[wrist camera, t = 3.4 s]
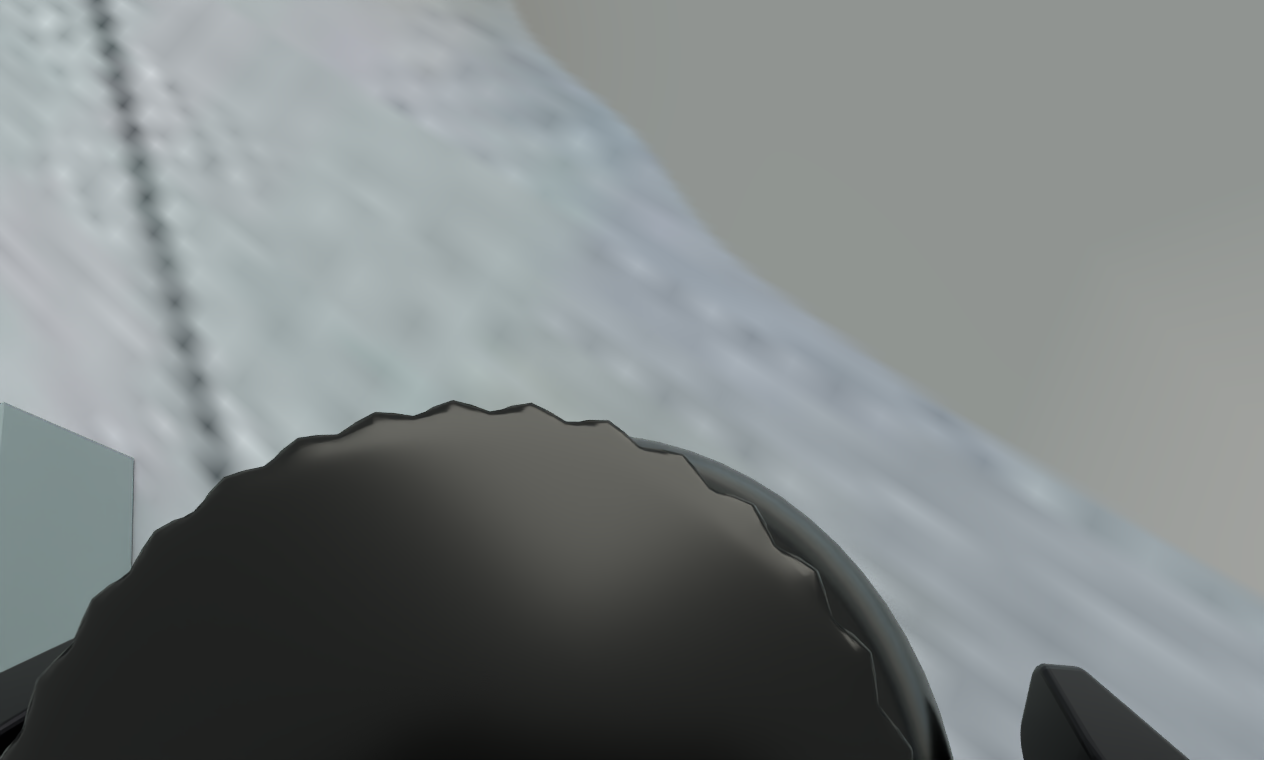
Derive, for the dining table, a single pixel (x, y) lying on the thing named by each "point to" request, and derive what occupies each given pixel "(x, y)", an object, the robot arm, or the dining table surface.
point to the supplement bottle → (487, 613)
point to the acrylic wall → (56, 530)
